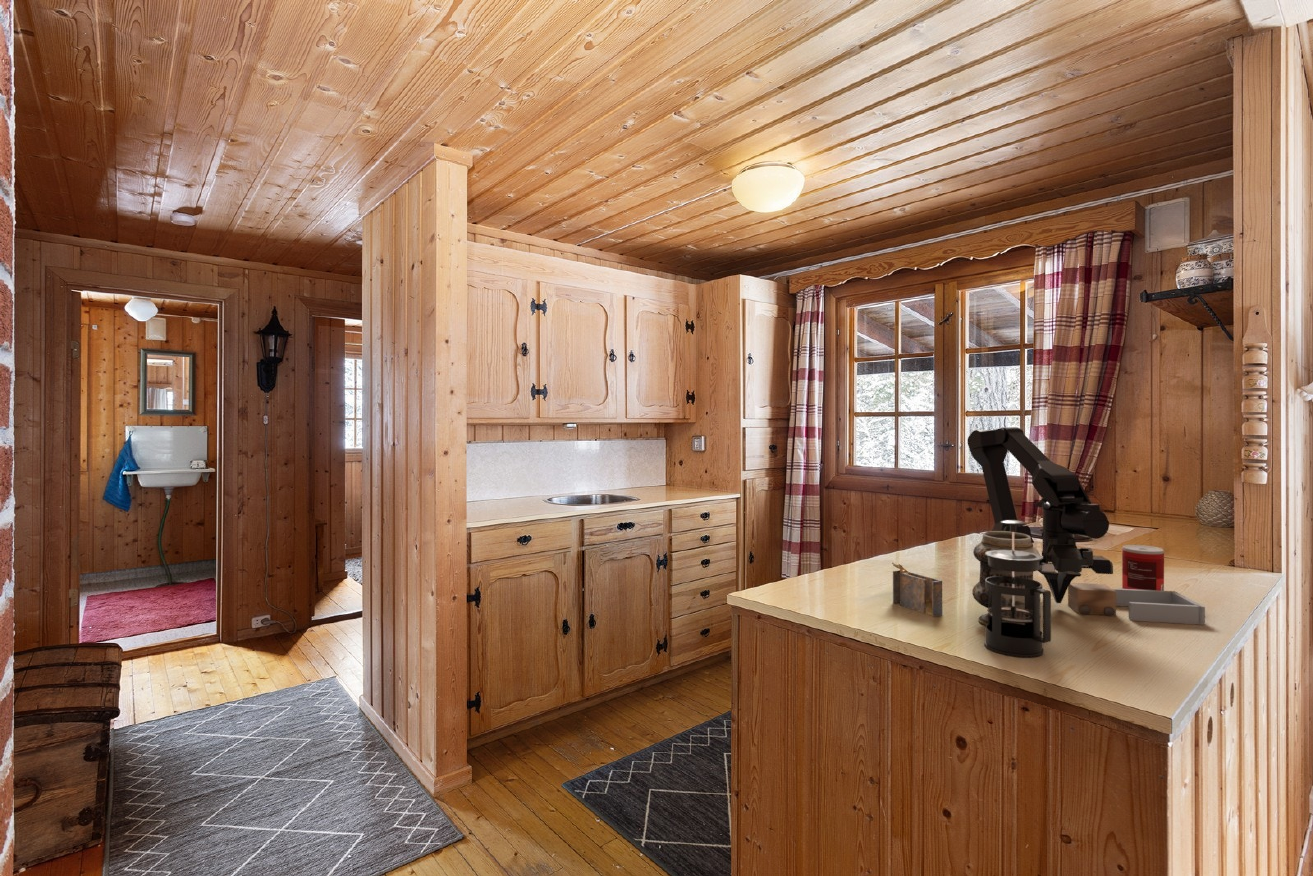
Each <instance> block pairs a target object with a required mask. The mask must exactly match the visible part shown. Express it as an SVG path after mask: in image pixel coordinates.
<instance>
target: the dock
mask: <svg viewBox="0 0 1313 876" xmlns="http://www.w3.org/2000/svg"><path fill="white" fill-rule="evenodd" d="M1111 588H1112V589H1113V590H1115V591H1116V607H1117V606H1120V607H1128V620H1129V621H1132V622H1134V621H1138V622H1150V623H1151V622H1152V623H1153V622H1154V623H1168V624H1169V623H1170V624H1183V625H1184V624H1185V625H1186V624H1187V625H1199V626H1201V625H1203V626H1206V606H1204V605H1202V604H1200V603H1198V602H1196V601H1194V600H1192V599H1191V598H1189V597H1186V596H1185V595H1183V594H1181V593H1179V592H1178V591H1174V590H1173V591H1172V590H1164V591H1158V590H1137V589H1122V588H1116V587H1115V588H1114V587H1111Z"/></svg>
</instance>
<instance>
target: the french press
mask: <svg viewBox="0 0 1313 876" xmlns="http://www.w3.org/2000/svg"><path fill="white" fill-rule="evenodd" d="M1000 523H1001V524H1006V525H1010V532H1012V550H993V551H988V552H986V553H985V555H986V556H987V557H988V565H989V566H990V567H992V568H995V569H999V570H1005V571H1012V576H993V577H988V578H986V579H985V587H986V588H987V589H988V608H986V610H987V613H988V624H987V625H985V640H984V641H983V645H984V647H985V648H986V649H987V650H989V651H991V652H994V653H996V654H1000V655H1003V656H1007V657H1014V658H1022V659H1023V658H1038V657H1041V656H1042V655H1044V653H1045V649H1044V647H1043V644H1046V643H1049V642H1051V640H1052V592H1051V590H1050V589H1049V590H1048V589H1045V588H1044V589H1043V583H1041V582H1040V581H1038V580H1036V579H1033V580H1031V579H1027V578H1021V577H1014V572H1033V573H1034V572H1037V571H1038V570H1039V561H1041V560H1042V558H1043V556H1042V555H1041V554H1040V555H1038V554H1034V553H1030V552H1023V551H1014V532H1016V525H1023V526H1027V524H1028V523H1027V522H1025V521H1022V520H1018V521H1017V520H1004V521H1001V522H1000ZM1038 572H1039V571H1038ZM995 583H1010V584H1012V588H1011V587H1004V586H999V585H995ZM1014 584H1020V585H1025V588H1014ZM1002 594H1006V595H1012V606H1011V607H1009V606H1002ZM1014 595H1015V596H1025V609H1024V608H1018V607H1015V599H1014ZM1041 595H1042V631H1041V600H1040V599H1041ZM1002 621H1007V622H1002ZM1009 622H1015V623H1009ZM1017 623H1025V625H1023V624H1017Z"/></svg>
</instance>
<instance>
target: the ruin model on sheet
mask: <svg viewBox="0 0 1313 876" xmlns="http://www.w3.org/2000/svg"><path fill="white" fill-rule="evenodd" d="M891 564H892V565H893V566H892V567H895V568H897V570H893V571H892V603H893V604H897V603H900V606H901V607H903V608H908V609H910V610H913V609H914V611H916V612H919V613H922V614H924V615H927V614H928V615H927V616H930V617H937V616H943V580H941V579H938V578H934V577H931V576H925V575H923V574H919V573H914V572H911V571H908V570H907V569H906V568H904V567H903V565H902V564H901V563H898V564H897V563H894V562H892V563H891Z"/></svg>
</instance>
